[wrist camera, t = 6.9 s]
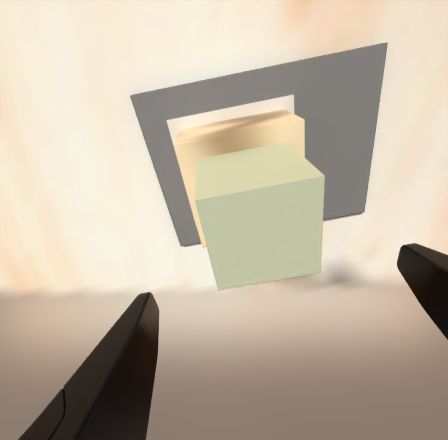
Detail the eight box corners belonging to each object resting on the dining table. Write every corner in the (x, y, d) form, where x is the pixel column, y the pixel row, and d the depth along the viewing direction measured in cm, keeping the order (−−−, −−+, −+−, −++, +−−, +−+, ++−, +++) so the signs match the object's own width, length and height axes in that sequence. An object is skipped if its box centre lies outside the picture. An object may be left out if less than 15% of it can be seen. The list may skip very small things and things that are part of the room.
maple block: (283, 108, 17) (304, 119, 13) (287, 201, 20) (305, 228, 17) (179, 129, 17) (173, 145, 13) (202, 217, 20) (202, 247, 17)
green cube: (286, 142, 14) (324, 175, 9) (290, 218, 16) (320, 272, 12) (196, 159, 14) (194, 200, 10) (214, 232, 16) (218, 290, 12)
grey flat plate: (382, 43, 16) (388, 42, 15) (361, 209, 22) (365, 212, 21) (131, 95, 16) (129, 96, 16) (181, 242, 22) (180, 247, 22)
